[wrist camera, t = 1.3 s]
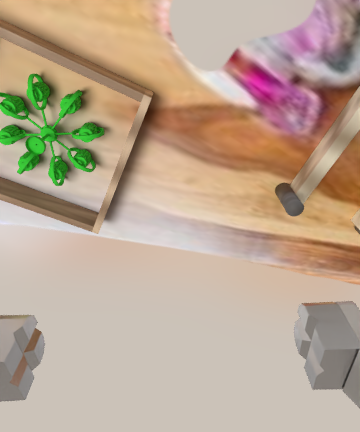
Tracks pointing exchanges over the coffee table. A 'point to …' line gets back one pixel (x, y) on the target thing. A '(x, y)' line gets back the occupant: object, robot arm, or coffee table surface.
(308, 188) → the double bar rack
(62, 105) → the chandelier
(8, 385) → the robot arm
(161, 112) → the coffee table surface
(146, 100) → the wooden corral
